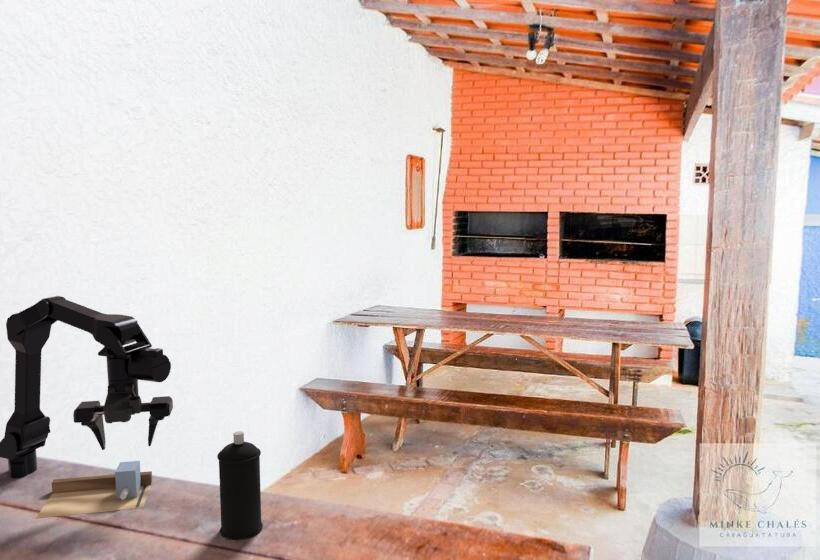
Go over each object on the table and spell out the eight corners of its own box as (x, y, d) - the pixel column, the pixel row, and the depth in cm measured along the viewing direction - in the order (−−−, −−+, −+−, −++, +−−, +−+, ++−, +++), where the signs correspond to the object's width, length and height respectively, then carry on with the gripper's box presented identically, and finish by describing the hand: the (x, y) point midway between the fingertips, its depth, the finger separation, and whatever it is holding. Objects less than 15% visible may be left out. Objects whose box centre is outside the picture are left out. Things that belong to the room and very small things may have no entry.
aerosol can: (253, 542, 123) (250, 442, 120) (212, 538, 125) (208, 439, 122) (269, 520, 131) (266, 426, 128) (230, 516, 133) (227, 423, 130)
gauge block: (121, 488, 141) (120, 462, 141) (141, 486, 142) (139, 460, 141) (113, 506, 133) (111, 479, 132) (133, 504, 134) (132, 477, 133)
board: (54, 496, 140) (53, 479, 140) (152, 488, 145) (151, 471, 144) (36, 524, 129) (34, 506, 128) (143, 514, 133) (142, 496, 133)
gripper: (62, 391, 126) (68, 467, 128) (164, 385, 130) (167, 459, 132) (78, 375, 137) (83, 445, 139) (171, 370, 141) (174, 438, 143)
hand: (127, 447), depth 138 cm, fingers open, 9 cm apart
